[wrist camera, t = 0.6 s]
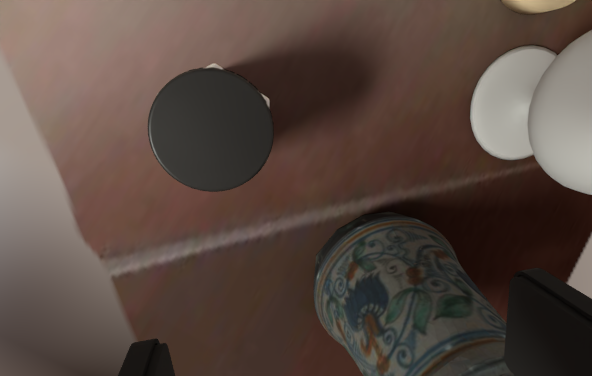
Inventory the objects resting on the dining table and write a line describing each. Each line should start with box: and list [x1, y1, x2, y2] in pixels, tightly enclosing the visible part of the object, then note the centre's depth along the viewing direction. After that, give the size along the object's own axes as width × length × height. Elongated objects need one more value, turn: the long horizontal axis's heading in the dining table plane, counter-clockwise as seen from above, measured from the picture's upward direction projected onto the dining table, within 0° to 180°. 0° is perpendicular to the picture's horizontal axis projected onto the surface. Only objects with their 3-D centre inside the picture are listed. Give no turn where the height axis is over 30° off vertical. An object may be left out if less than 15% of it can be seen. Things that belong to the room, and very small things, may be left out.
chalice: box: [470, 30, 592, 195], centre depth 32 cm, size 14×14×15 cm
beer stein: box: [314, 212, 515, 376], centre depth 31 cm, size 16×19×25 cm
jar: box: [148, 63, 274, 192], centre depth 29 cm, size 9×8×12 cm
